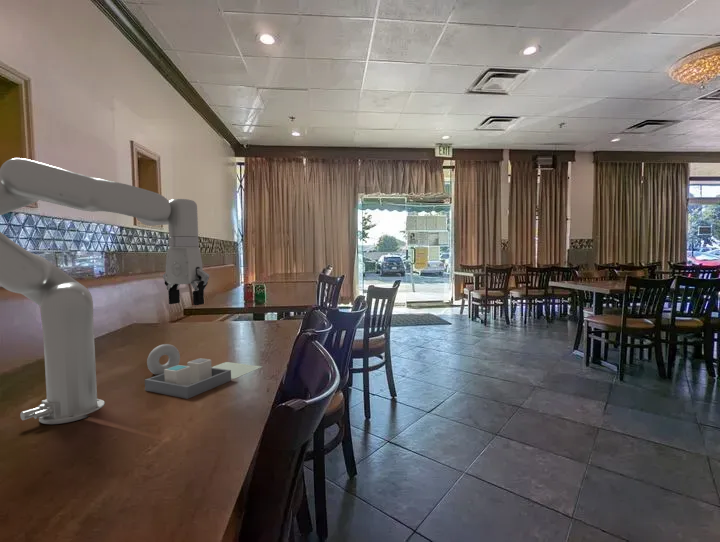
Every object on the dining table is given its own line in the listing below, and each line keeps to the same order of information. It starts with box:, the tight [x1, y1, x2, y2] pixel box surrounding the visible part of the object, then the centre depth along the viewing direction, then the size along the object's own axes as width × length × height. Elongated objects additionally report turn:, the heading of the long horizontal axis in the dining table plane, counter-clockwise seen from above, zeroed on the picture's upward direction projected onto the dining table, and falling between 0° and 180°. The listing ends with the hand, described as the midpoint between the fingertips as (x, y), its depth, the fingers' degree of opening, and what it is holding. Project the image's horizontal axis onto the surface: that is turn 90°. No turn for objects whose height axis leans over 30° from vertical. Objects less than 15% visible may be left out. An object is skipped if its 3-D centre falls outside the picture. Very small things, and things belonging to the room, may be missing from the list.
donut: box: [146, 343, 181, 376], centre depth 117 cm, size 10×4×10 cm, turn 143°
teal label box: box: [164, 364, 191, 386], centre depth 101 cm, size 5×5×6 cm
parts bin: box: [144, 368, 232, 400], centre depth 104 cm, size 15×17×4 cm
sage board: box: [212, 361, 262, 380], centre depth 118 cm, size 13×16×1 cm
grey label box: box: [186, 358, 213, 384], centre depth 107 cm, size 5×5×6 cm
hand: (186, 304), depth 103 cm, fingers open, 9 cm apart
